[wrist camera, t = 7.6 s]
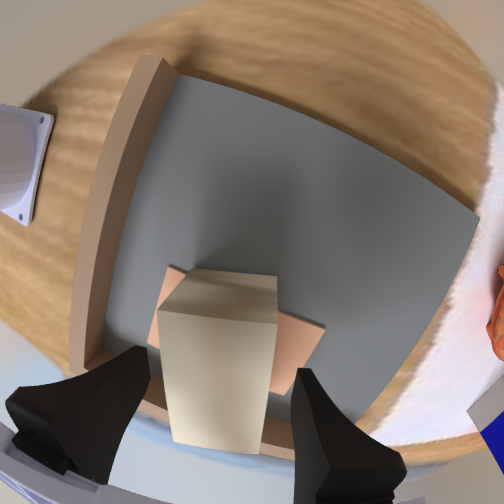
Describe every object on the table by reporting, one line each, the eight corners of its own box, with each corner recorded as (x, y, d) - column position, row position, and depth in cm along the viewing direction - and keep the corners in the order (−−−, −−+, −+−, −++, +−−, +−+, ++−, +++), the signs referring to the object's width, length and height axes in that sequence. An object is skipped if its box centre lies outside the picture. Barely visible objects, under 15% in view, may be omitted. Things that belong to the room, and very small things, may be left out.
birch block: (194, 384, 17) (173, 441, 12) (192, 268, 15) (156, 309, 10) (263, 393, 17) (258, 454, 12) (276, 276, 15) (277, 324, 10)
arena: (91, 346, 18) (69, 370, 15) (165, 74, 13) (141, 54, 10) (334, 436, 19) (340, 467, 16) (473, 215, 14) (505, 225, 11)
